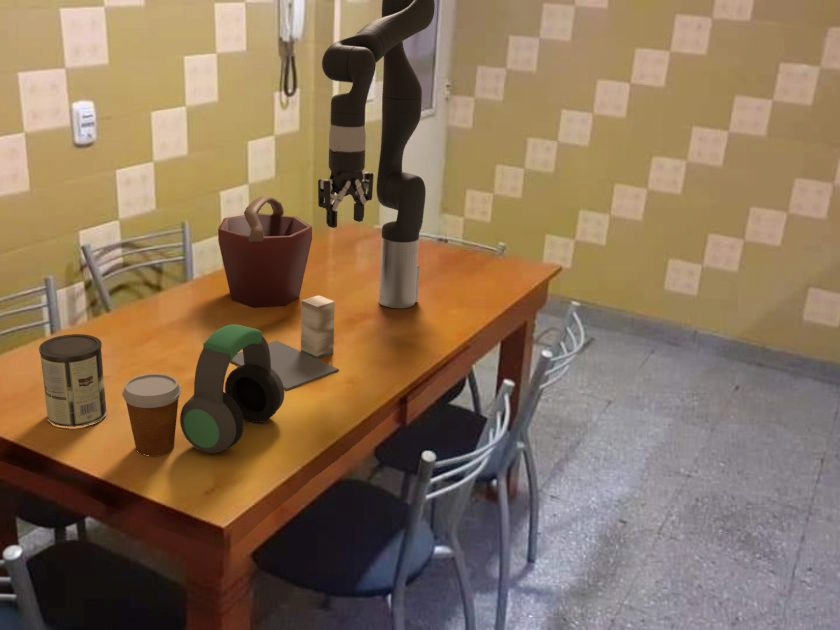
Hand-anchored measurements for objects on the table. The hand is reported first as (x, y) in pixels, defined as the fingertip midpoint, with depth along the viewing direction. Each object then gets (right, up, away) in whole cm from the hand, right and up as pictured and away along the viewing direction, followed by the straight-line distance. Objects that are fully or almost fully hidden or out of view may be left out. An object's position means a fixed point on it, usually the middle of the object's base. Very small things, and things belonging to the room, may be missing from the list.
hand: (345, 223), depth 190 cm
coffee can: (-46, -38, -28) cm, 66 cm away
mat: (-13, -30, -2) cm, 33 cm away
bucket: (-24, -15, +35) cm, 45 cm away
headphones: (-17, -41, -30) cm, 54 cm away
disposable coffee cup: (-30, -42, -36) cm, 63 cm away
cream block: (-6, -28, +5) cm, 29 cm away
